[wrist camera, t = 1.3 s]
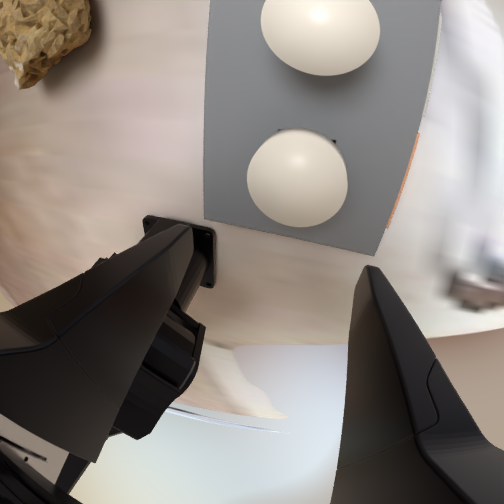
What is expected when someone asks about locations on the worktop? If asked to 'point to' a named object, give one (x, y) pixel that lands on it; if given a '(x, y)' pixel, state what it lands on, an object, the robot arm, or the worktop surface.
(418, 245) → the worktop surface
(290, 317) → the worktop surface
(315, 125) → the board
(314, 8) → the button middle
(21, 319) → the robot arm
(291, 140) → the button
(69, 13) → the sponge
